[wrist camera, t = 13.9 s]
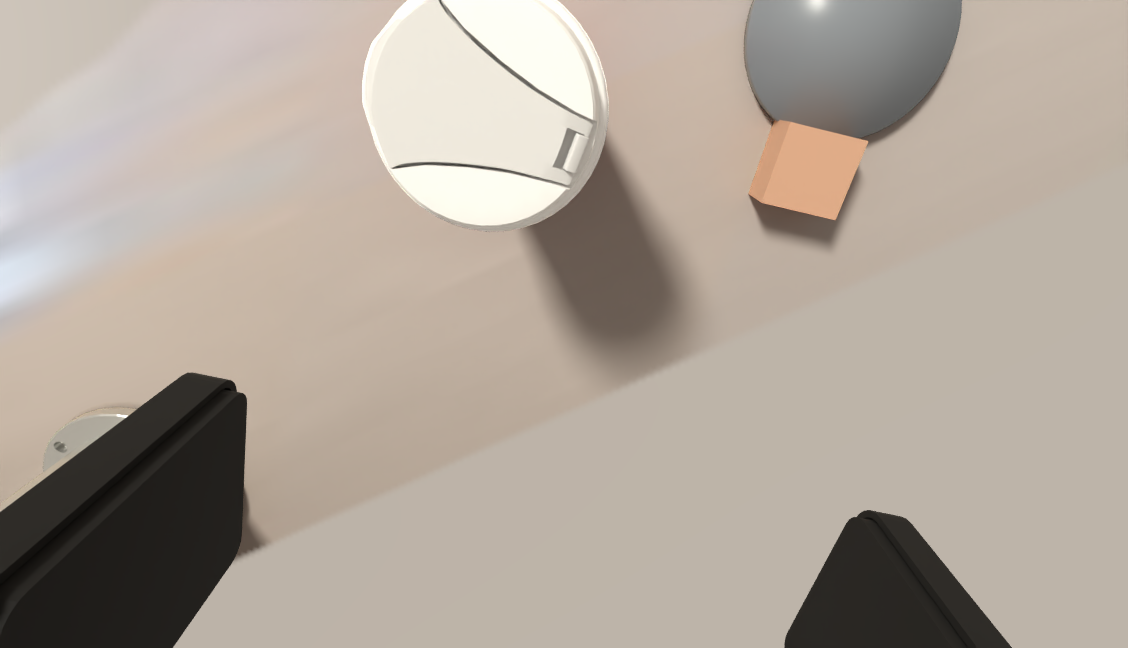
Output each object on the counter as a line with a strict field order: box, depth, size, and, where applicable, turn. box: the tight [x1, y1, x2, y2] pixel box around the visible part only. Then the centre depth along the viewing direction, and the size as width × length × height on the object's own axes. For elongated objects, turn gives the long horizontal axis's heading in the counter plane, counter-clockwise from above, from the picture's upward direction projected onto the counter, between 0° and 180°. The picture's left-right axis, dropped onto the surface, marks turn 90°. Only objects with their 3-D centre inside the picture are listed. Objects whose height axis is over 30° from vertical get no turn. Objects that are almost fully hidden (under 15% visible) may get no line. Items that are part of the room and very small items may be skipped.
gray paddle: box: [744, 0, 962, 220], centre depth 28 cm, size 14×10×2 cm
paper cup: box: [362, 0, 609, 232], centre depth 23 cm, size 8×8×14 cm
